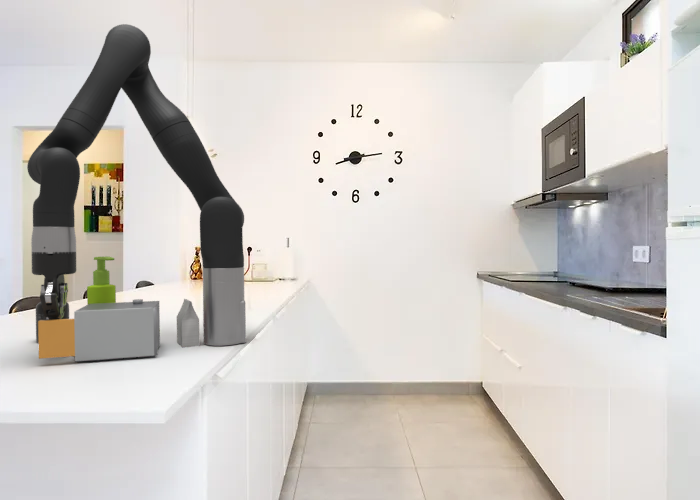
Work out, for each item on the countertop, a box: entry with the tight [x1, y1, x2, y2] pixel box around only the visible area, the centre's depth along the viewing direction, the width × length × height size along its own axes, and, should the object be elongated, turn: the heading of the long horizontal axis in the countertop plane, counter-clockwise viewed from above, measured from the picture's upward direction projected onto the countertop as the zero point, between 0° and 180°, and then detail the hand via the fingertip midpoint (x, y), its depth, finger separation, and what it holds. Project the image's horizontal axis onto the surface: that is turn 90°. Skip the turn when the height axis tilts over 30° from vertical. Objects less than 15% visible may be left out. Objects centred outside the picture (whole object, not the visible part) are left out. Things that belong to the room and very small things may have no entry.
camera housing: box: [75, 298, 161, 363], centre depth 100 cm, size 14×13×11 cm
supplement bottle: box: [35, 291, 70, 343], centre depth 113 cm, size 7×7×12 cm
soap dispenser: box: [86, 255, 117, 305], centre depth 110 cm, size 6×7×20 cm
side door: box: [38, 307, 159, 362], centre depth 92 cm, size 21×1×10 cm, turn 107°
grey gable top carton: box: [176, 298, 200, 348], centre depth 108 cm, size 4×7×10 cm, turn 29°
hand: (55, 337), depth 94 cm, fingers closed
